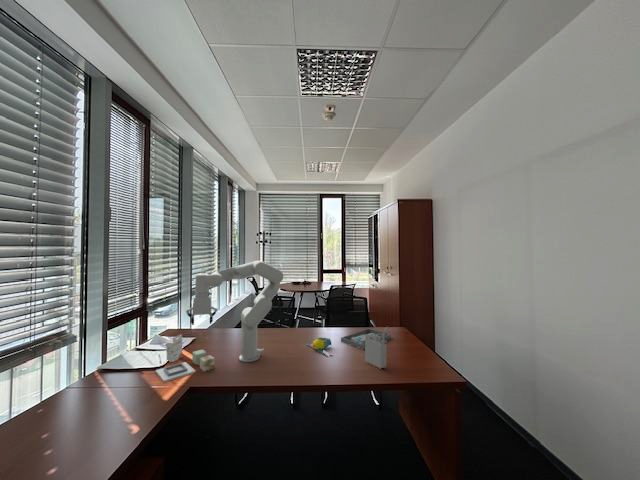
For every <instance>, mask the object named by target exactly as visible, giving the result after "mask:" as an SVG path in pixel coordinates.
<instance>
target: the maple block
mask: <svg viewBox="0 0 640 480" xmlns="http://www.w3.org/2000/svg"><path fill="white" fill-rule="evenodd" d="M215 359H216V358H215V357H214V356H212V355H211V354H210V355H209V354H208V355H206V356H205V357H202V358H200V364H199V369H200V370H201V369H202V372H204V371H205V372H207V371H206V370H208V371H211V370H214V369H215ZM210 369H211V370H210Z"/></svg>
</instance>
